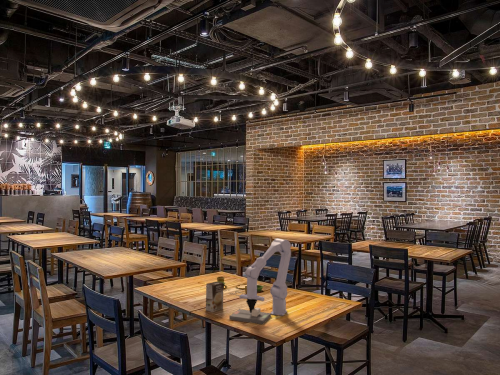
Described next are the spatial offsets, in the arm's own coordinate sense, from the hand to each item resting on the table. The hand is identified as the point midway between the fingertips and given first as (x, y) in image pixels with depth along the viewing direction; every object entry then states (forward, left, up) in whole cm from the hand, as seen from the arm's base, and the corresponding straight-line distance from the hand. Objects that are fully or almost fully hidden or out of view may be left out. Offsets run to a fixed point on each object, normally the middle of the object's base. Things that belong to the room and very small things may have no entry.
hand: (251, 312), depth 222 cm
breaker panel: (0, -1, -3) cm, 3 cm away
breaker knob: (0, +3, -1) cm, 3 cm away
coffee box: (-6, -27, -4) cm, 28 cm away
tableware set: (-58, -37, -4) cm, 69 cm away
